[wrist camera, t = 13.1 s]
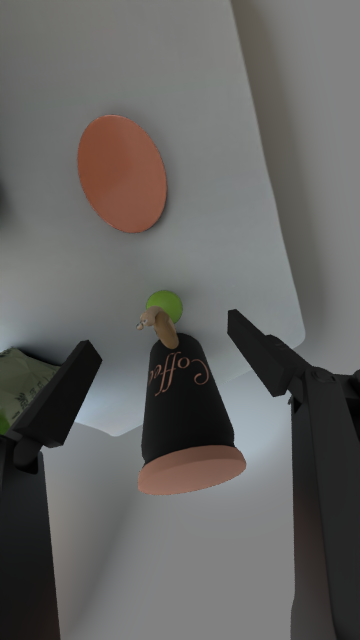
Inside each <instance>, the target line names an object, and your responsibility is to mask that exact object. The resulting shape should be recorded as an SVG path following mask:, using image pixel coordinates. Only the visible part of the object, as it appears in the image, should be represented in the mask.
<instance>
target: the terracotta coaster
mask: <svg viewBox="0 0 360 640" xmlns="http://www.w3.org/2000/svg"><path fill="white" fill-rule="evenodd" d="M77 159H78V172H79V177H80V181H81V185H82V187H83V190H84V193H85V195H86V197H87V199H88V201H89V203H90V204H91V206H92V207H93V209H94V210H95V211H96V213H97V214H98V215H99V216H100V217H101V218H102V219H103V220H104V221H105V222H106V223H108V224H109V225H111V226H112V227H114V228H116V229H118V230H120V231H123V232H128V233H140V232H143V231H146V230H148V229H149V228H151V227H152V226H153V225H154V224H155V223H156V222H157V221H158V219H159V218H160V216H161V214H162V212H163V209H164V206H165V202H166V195H167V181H166V173H165V168H164V165H163V162H162V159H161V156H160V154H159V152H158V150H157V148H156V146H155V144H154V143H153V141H152V140H151V138H150V137H149V136H148V134H147V133H146V132H145V131H144V130H143V129H142V128H141V127H140V126H139V125H137V124H136V123H135V122H133V121H131V120H129V119H128V118H125V117H122V116H119V115H105V116H101V117H99V118H97V119H95V120H94V121H93V122H91V123H90V124H89V126H88V127H87V128H86V129H85V131H84V133H83V135H82V137H81V140H80V143H79V148H78V158H77Z"/></svg>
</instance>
